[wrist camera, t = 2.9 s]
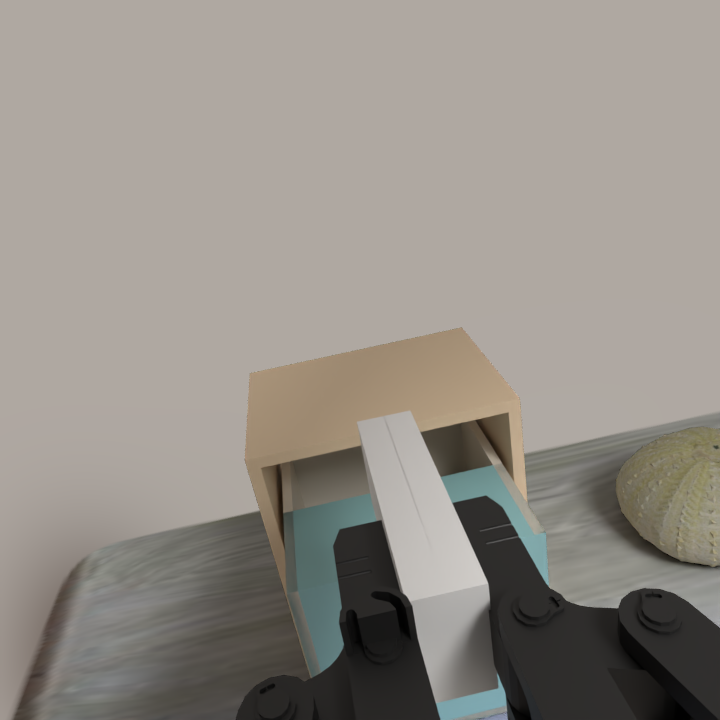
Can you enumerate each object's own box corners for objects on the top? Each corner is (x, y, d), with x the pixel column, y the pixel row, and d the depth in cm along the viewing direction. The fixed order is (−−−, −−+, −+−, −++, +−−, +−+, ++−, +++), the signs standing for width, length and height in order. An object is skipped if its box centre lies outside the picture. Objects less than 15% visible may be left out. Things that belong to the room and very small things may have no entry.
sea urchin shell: (574, 469, 37) (665, 366, 35) (658, 520, 40) (748, 427, 38) (662, 577, 29) (788, 451, 27) (761, 632, 32) (882, 521, 30)
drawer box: (555, 699, 26) (545, 532, 22) (335, 755, 25) (286, 593, 22) (480, 540, 35) (464, 402, 31) (316, 579, 34) (280, 443, 31)
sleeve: (536, 632, 30) (519, 398, 24) (312, 687, 29) (244, 460, 24) (483, 525, 37) (461, 327, 32) (303, 567, 36) (249, 373, 31)
